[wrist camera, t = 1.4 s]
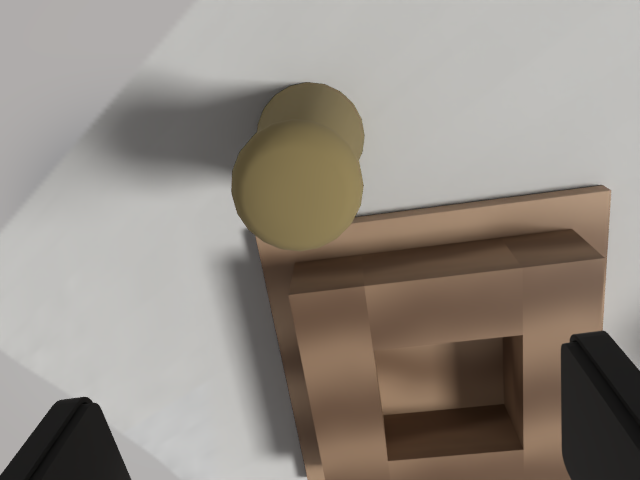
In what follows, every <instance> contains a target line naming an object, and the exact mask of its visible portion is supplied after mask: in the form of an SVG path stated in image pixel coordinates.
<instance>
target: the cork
mask: <svg viewBox="0 0 640 480" xmlns="http://www.w3.org/2000/svg"><path fill="white" fill-rule="evenodd" d="M364 136H365V135H364V130H363V125H362V119H361V117H360V115H359V113H358V112H357V110H356V108H355V106H354V104H353V103H352V102H351V101H350V100H349V99H348V98H347V97H346V96H345V95H344V94H342V93H341V92H340V91H338V90H336V89H334V88H332V87H329V86H327V85H325V84H319V83H310V82H306V83H301V84H296V85H292V86H289V87H287V88H286V89H284V90H282V91H281V92H279V93H277V94H276V95H275V96H274V97H273V98H272V99H271V100H270V102H269V103H268V104H267V105H266V106H265V108H264V109H263V112H262V115H261V117H260V120H259V122H258V127H257V133H255V134H254V136H253V137H252V138H251V139H250V140H249V141H248V143H247V144H246V145H245V146H244V147H243V149H242V150H241V151H240V152H239V155H238V157H237V160H236V162H235V165H234V168H233V170H232V189H231V191H232V197H233V200H234V203H235V207H236V210H237V214H238V215H239V217H240V218H241V220H242V221H243V223H244V224H245V226H246V227H247V229H248V230H249V231H251V232H252V233H253V234H254V235H255V236H257V237H258V238H259V239H260V240H262V241H263V242H265V243H267V244H270V245H272V246H274V247H277V248H279V249H283V250H292V251H305V250H311V249H316V248H320V247H322V246H324V245H326V244H328V243H330V242H332V241H334V240H336V239H337V238H338V237H339V236H340V235H341V234H342V233H343V232H344V231H345V230H346V229H347V228H348V227H349V226H350V225H351V223H352V222H353V220H354V218H355V216H356V214H357V212H358V210H359V208H360V206H361V200H362V193H363V186H364V185H363V180H362V175H361V169H360V164H359V159H360V156H361V154H362V151H363V143H364Z"/></svg>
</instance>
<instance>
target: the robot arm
mask: <svg viewBox="0 0 640 480" xmlns="http://www.w3.org/2000/svg"><path fill="white" fill-rule="evenodd" d="M561 434H562V456H563V461H564V464H565V467H566V470H567V472H568V474H569V476H570V478H571V480H640V371H639V370H638V368H637V367H636V366H635V365H634V364H633V362H632V361H631V360H630V359H629V358H628V357H627V355H626V354H625V353H624V352H623V351H622V350H621V348H620V347H619V346H618V345H617V344H616V343H615V341H614V340H613V339H612V338H611V337H610V335H609V334H608V333H606V332H605V331H595V332H587V333H579V334H573V335H571V337H570V342H569V343H563V344H562V345H561ZM0 480H131V478H130V476H129V473H128V471H127V469H126V466H125V464H124V461H123V459H122V457H121V455H120V452H119V450H118V447H117V445H116V443H115V441H114V438H113V436H112V433H111V431H110V429H109V426H108V424H107V422H106V419H105V417H104V414H103V412H102V410H101V408H100V406H99V405H98V404H97V403H93V402H92V400H91V399H89V398H88V397H80V398H72V399H64V400H59V401H57V402H56V403H55V404H54V405H53V406H52V407H51V409H50V410H49V411H48V413H47V414H46V415H45V417H44V418H43V419H42V421H41V422H40V423H39V425H38V426H37V427H36V429H35V430H34V432H33V433H32V434H31V435H30V437H29V438H28V439H27V441H26V442H25V443H24V445H23V446H22V447H21V449H20V450H19V451H18V453H17V454H16V455H15V457H14V458H13V459H12V461H11V462H10V463H9V465H8V466H7V467H6V469H5V470H4V471H3V473H2V474H1V475H0Z"/></svg>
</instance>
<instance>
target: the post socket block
mask: <svg viewBox="0 0 640 480" xmlns="http://www.w3.org/2000/svg"><path fill="white" fill-rule="evenodd" d="M610 200H611V190H609V189H608V188H606V187H605V186H603V185H601V186H593V187H585V188H577V189H570V190H562V191H554V192H546V193H539V194H531V195H523V196H515V197H508V198H500V199H492V200H484V201H477V202H469V203H461V204H453V205H446V206H438V207H430V208H422V209H415V210H407V211H399V212H391V213H384V214H376V215H368V216H360V217H355V218H354V220H353V222H352V223H351V225H350V226H349V227H348V228H347V229H346V230H345V231H344V232H343V233H342V234H341V235H340V236H339V237H338V238H337V239H336V240H334V241H332V242H330V243H328V244H326V245H324V246H322V247H320V248H316V249H311V250H305V251H292V250H283V249H279V248H277V247H274V246H272V245H270V244H267V243H265V242H263V241H262V240H260V239H259V238H258V237H257V236H256V241H257V246H258V250H259V255H260V260H261V264H262V269H263V274H264V278H265V283H266V288H267V292H268V297H269V302H270V306H271V311H272V316H273V320H274V325H275V330H276V334H277V339H278V343H279V348H280V353H281V357H282V362H283V367H284V371H285V376H286V381H287V385H288V390H289V395H290V399H291V404H292V409H293V413H294V418H295V423H296V427H297V432H298V437H299V441H300V446H301V451H302V455H303V460H304V465H305V469H306V474H307V479H308V480H571V478H570V476H569V474H568V472H567V470H566V467H565V464H564V461H563V456H562V434H561V345H562V344H563V343H569V342H570V337H571V335H573V334H579V333H587V332H595V331H602V330H603V314H604V298H605V281H606V265H607V249H608V233H609V216H610Z"/></svg>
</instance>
